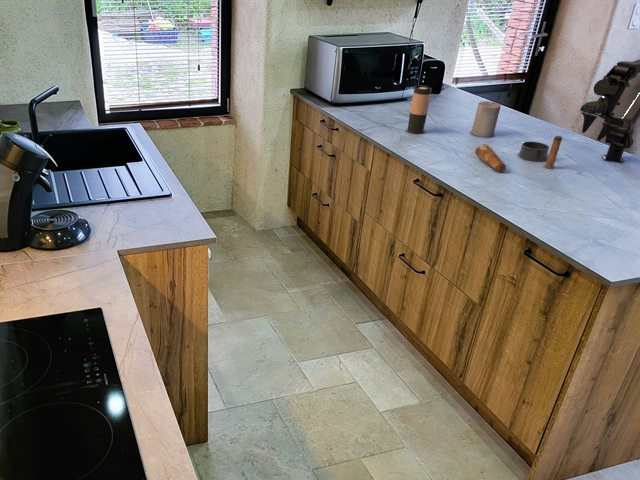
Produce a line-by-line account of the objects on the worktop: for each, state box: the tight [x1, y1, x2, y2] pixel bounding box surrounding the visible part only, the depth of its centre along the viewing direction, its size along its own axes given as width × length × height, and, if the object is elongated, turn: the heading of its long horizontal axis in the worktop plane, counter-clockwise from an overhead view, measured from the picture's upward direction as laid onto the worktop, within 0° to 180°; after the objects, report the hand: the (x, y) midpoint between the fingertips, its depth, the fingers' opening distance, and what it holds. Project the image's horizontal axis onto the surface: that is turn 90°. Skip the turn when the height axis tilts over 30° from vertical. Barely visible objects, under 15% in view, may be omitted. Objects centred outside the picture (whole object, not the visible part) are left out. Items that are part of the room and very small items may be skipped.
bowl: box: [518, 141, 550, 162], centre depth 247 cm, size 10×10×5 cm
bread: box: [474, 143, 507, 173], centre depth 238 cm, size 6×19×6 cm, turn 3°
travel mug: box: [407, 84, 432, 135], centre depth 270 cm, size 8×8×20 cm
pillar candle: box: [471, 100, 502, 138], centre depth 269 cm, size 10×10×15 cm
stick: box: [545, 135, 563, 169], centre depth 235 cm, size 3×3×12 cm
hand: (590, 136), depth 235 cm, fingers open, 9 cm apart
